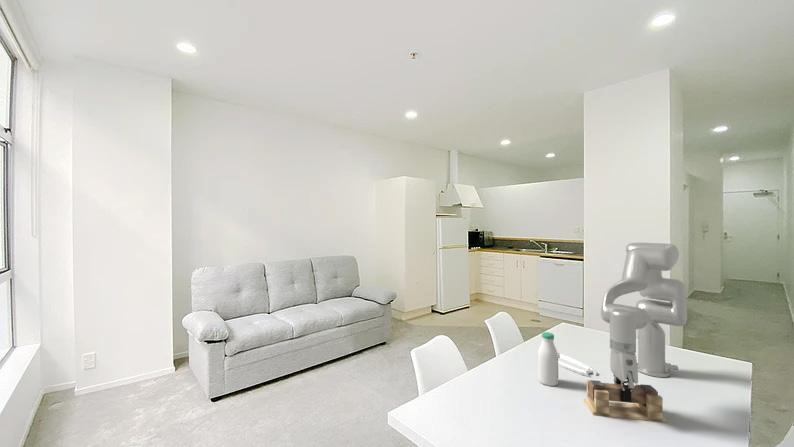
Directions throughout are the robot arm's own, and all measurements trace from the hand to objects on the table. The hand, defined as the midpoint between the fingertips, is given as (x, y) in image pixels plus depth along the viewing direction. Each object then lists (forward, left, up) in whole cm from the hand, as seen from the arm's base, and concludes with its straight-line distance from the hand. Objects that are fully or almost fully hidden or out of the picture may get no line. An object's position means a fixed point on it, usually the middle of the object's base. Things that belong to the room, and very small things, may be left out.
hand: (622, 397), depth 115 cm
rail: (0, 0, -1) cm, 1 cm away
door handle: (+6, -38, -5) cm, 39 cm away
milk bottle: (+20, -18, -5) cm, 27 cm away
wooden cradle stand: (0, 0, -5) cm, 5 cm away
